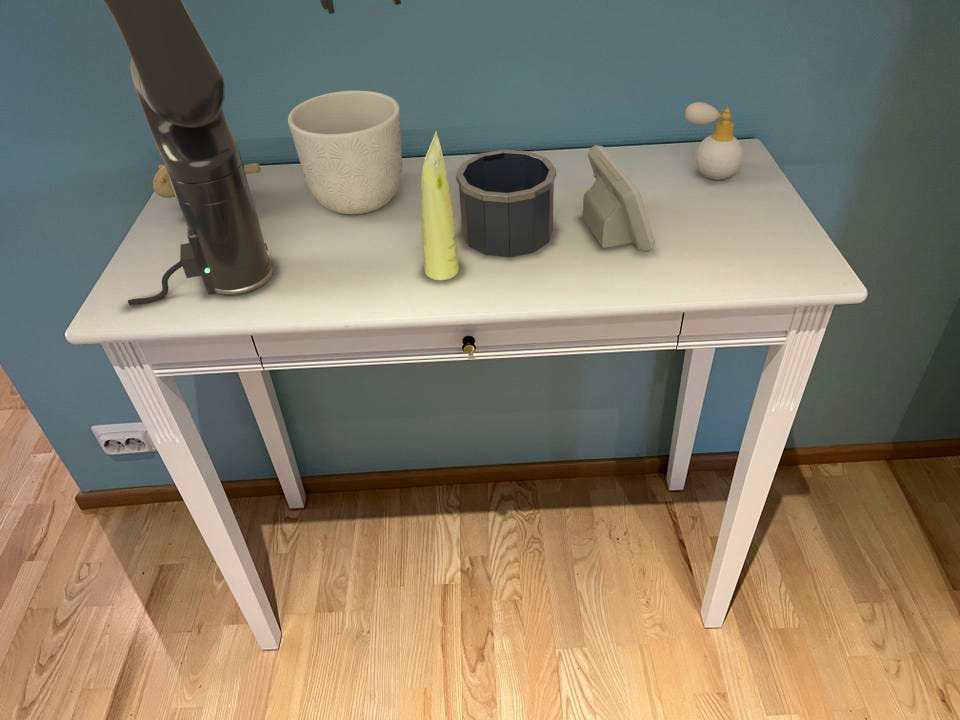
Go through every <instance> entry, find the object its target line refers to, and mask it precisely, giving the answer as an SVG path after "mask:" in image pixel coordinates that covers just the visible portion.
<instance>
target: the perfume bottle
mask: <svg viewBox="0 0 960 720" xmlns="http://www.w3.org/2000/svg"><path fill="white" fill-rule="evenodd" d="M730 112H731V109H730V107H729V106H727V107H726V108H725V109H724V112H723V113H722V114H721V113H720V112H719V111H718V109H717V108H716V107H714V106H713V105H710V104H709V103H706V102H701V101H696V102H692V103H690V104H689V105H688V106H687V107H686V109H685V111H684V118H685V120H686V122H687V123H689V124H690V125H693V126H706V125H709V124H712V123H714V122H715V121H716V122H715V124H714V129H713V132H712V134H710V135H708V136H707V137H705V138H704V139H703V140H702V141H701V142H700V143H699V145H698V146H697V148H696V150H695V151H696V152H695V154H694V155H695V156H694V157H695V158H694V159H695V160H694V163H695V165H696V169H697V170H698V172H700V174H701V175H702V176H704V177H705V178H708V179H710V180H716V181H720V180H726V179H728V178H730V177H732V176H733V175H734V174H736V173H737V172H738V170H739V169H740V168H741V165H742V162H743V160H744V150H743V147H742V144H741V142H740V141H739V140H738V139H737V137H735V136H734V129H735V124H734V122H733V121H732V122H731V121H729V120H731V118H732V113H730ZM720 118H721V119H722V120H718V119H720ZM717 120H718V121H717Z"/></svg>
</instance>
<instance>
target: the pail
mask: <svg viewBox="0 0 960 720" xmlns="http://www.w3.org/2000/svg"><path fill="white" fill-rule="evenodd" d="M556 177H557V168H556V167H555V166H554V165H553V163H552V162H551V161H550V160H549V158H548V157H545V156H542V155H541V154H540V155H539V154H537V153H534V152H531V151H528V150H514V149H497V150H494V151H488V152H481V153H478V154H477V155H474V156H472V157H471V158H469V159H467V160H465V161H463V162H462V163H461V164H460V166H459V167H458V170H457V172H456V173H455V180H456V182H457V184H458V190H459V191H458V193H459V195H458V196H459V207H460V221H461V222H460V223H461V235H462V238H463V239H464V241H465V243H466V244H467V246H468V247H469V248H470V249H473V250H474V251H477V252H479V253H481V254H483V255H485V256H492V257H501V258H514V257H515V258H516V257H520V256H524V255H529V254H533V253H535V252H536V251H538V250H540V249H542V247H544V246H546V245H548V244H549V242H550V240H551V237H552V233H553V230H554V197H555V196H554V192H555V191H554V190H555V180H556Z"/></svg>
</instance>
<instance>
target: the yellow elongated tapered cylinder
mask: <svg viewBox="0 0 960 720" xmlns="http://www.w3.org/2000/svg"><path fill="white" fill-rule="evenodd" d="M420 185H421V189H420V216H421V217H420V220H421V221H420V222H421V239H422V255H423V265H424V267H423V268H424V273H425V275H426V276H427V277H428V279H431V280H435V281H446V280H447V281H448V280H451V279H453V278H454V277H456V276H457V275H458V273H459V271H460V267H459V263H460V262H459V255H458V254H459V253H458V245H457V244H458V243H457V235H456V227H455V225H456V224H455V217H454V212H453V204H452V197H451V190H450V185H449V180H448V174H447V168H446V164H445V158H444V155H443V150H442V146H441V142H440V139H439V136H438V131H437V130H435V133H434V135H433V137H432V140H431V142H430V144H429V148H428V150H427V152H426V154H425V157H424V161H423V166H422V169H421V184H420Z"/></svg>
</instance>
